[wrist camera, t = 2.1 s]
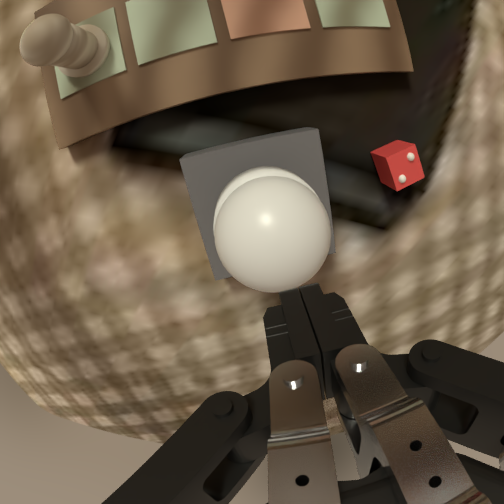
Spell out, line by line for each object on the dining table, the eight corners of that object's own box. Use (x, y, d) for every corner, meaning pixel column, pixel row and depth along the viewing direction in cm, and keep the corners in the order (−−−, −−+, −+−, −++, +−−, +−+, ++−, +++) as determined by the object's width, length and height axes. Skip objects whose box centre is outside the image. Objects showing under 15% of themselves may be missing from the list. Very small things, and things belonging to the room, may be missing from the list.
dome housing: (216, 263, 28) (215, 280, 25) (185, 154, 23) (179, 159, 21) (325, 238, 27) (335, 252, 25) (307, 126, 23) (318, 129, 20)
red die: (381, 182, 25) (399, 192, 22) (370, 152, 24) (388, 158, 21) (406, 169, 25) (426, 178, 22) (397, 139, 24) (417, 144, 21)
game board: (67, 147, 22) (58, 149, 20) (42, 15, 16) (33, 12, 14) (404, 72, 21) (414, 71, 19) (365, -55, 15) (372, -62, 13)
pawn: (66, 86, 18) (8, 84, 11) (58, 41, 16) (2, 26, 9) (114, 64, 18) (65, 48, 11) (105, 18, 16) (58, -11, 9)
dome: (228, 270, 23) (229, 329, 17) (203, 178, 20) (191, 210, 14) (321, 249, 23) (352, 300, 16) (307, 155, 20) (342, 176, 13)
